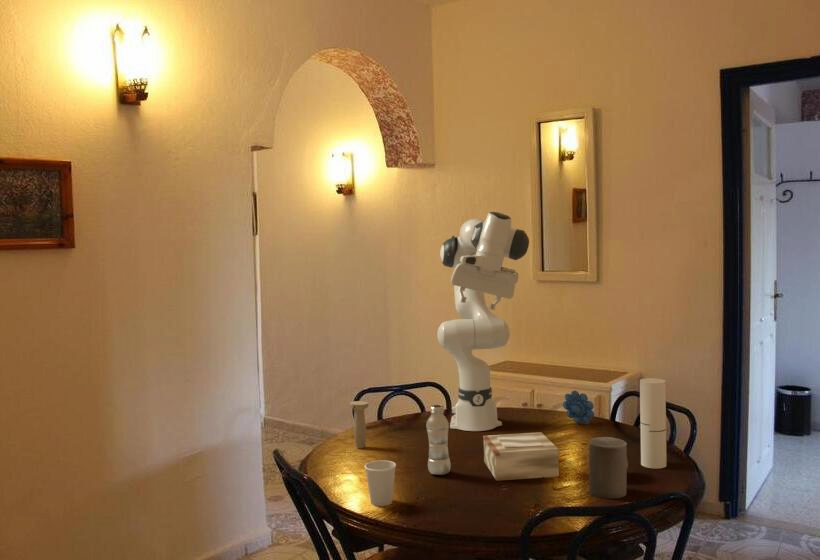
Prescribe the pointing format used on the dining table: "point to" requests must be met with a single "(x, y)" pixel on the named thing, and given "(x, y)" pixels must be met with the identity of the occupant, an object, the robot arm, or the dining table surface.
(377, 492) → the dixie cup
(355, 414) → the handle
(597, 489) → the pillar candle
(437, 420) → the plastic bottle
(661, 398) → the cylindrical container
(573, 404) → the grapes
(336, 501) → the dining table surface
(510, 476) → the riser block
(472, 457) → the dining table surface
